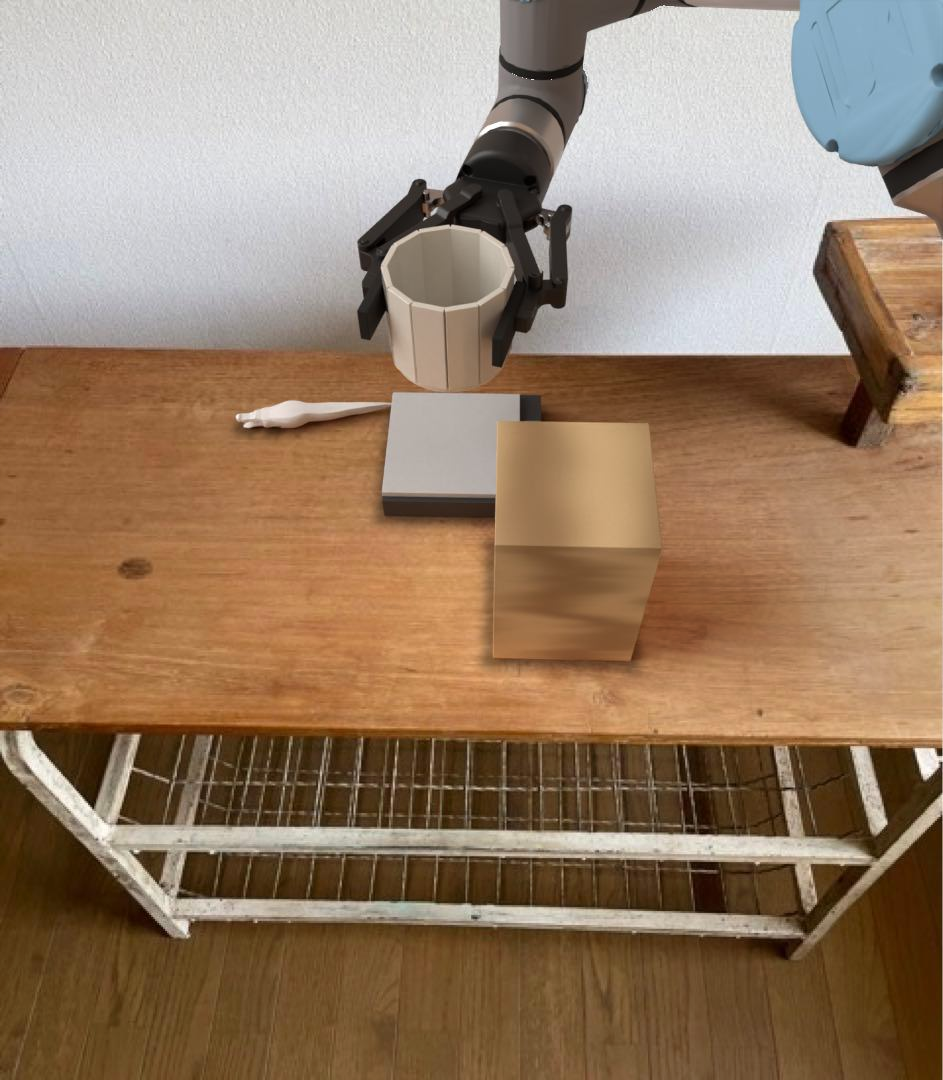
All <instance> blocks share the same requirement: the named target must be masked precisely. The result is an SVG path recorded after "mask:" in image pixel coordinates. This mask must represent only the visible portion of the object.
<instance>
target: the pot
mask: <svg viewBox="0 0 943 1080" xmlns="http://www.w3.org/2000/svg"><path fill="white" fill-rule="evenodd" d="M514 273H515V266H514V263H513V261H512V259H511V256H510V254H509V251H508V249H507V247H505V244H503V243H502V242H500V241H499V240H497V239H495V238H494V237H492V236H491V235H489V234H488V233H486V232H485V231H482V230H479V229H474V228H468V227H463V226H457V225H451V227H450V225H443V226H437V227H430V228H424V229H419V231H418V230H416V231H414V232H413V233H411V234H409V235H407V236H406V237H404V238H402V239H400V240H399V241H397V242H395V243H394V244H393V245H392V246H391V248H390V249H389V251H388V253H387V255H386V257H385V258H384V260H383V262H382V264H381V274H382V282H383V291H384V300H385V309H386V311H385V314H386V315H385V317H386V326H387V334H388V344H389V348H390V353H391V357H392V360H393V361H392V362H393V365H394V367H395V368H396V369H397V370H399V372H400V373H401V375H403V376H404V377H405V379H407V380H408V381H410V382H411V383H412V384H414V385H416V386H418V387H420V388H423V389H425V390H428V391H433V392H437V393H463V392H466V391H472V390H474V389H477V388H479V387H481V386H483V385H486V384H487V383H489V382H490V381H492V380H493V379H495V377H497V375H498V374H500V372H502V370H503V368H505V366H506V364H507V361H508V358H509V357H510V353H511V351H512V348H513V342H512V343H511V345H510V348H509V350H508V353H507V355H506V358H505V361H504V363H503V366H502V368H500V367H495V366H492V337H493V335H494V333H495V330H496V328H497V325H498V323H499V321H500V318H501V316H502V313H503V311H504V309H505V306H506V304H507V302H508V299H509V297H510V295H511V292H512V290H513V287H514V284H515V274H514Z"/></svg>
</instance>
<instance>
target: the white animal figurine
mask: <svg viewBox="0 0 943 1080" xmlns="http://www.w3.org/2000/svg"><path fill="white" fill-rule="evenodd" d="M391 405H392V402H382V401H381V402H379V401H376V402H375V401H352V402H351V401H347V402H346V401H341V402H340V401H339V402H338V401H326V402H325V401H324V402H304V401H302V400H294V399H293V400H292V399H291V400H290V399H289V400H286V401H285V400H284V401H283V402H279V403H277V404H275V405H272V406H266V407H262V408H258V409H254V410H253V411H251V412H244V413H243V412H242V413H237V414H236V415H235V420H236V421H237V422H238V423H243V429H252V428H255V427H264V428H272V427H274V428H280V429H295V428H300V427H302V426H304V425H306V424H308V423H310V422H311V423H312V422H323V421H333V420H336V419H341V418H345V417H349V416H354V415H362V414H367V413H372V412H375V411H379V410H383V409H386V408H389V407H390V408H391Z"/></svg>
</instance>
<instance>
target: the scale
mask: <svg viewBox="0 0 943 1080" xmlns="http://www.w3.org/2000/svg"><path fill="white" fill-rule="evenodd" d="M391 403H392V405H391V406H390V413H389V424H388V432H387V433H388V434H387V441H386V452H385V460H384V467H383V468H384V469H383V477H382V479H383V480H382V487H381V495H382V498H381V504H382V510H383V516H386V517H387V516H388V517H431V518H432V517H433V518H435V517H436V518H443V517H444V518H482V519H483V518H484V519H485V518H487V519H489V518H490V519H493V518H494V519H495V504H496V456H497V421H537V422H542V396H541V395H540V394H520V393H476V392H475V393H473V392H472V393H471V392H410V391H409V392H406V391H405V392H404V391H398V392H397V391H393V392H392V397H391Z"/></svg>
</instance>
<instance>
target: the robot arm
mask: <svg viewBox="0 0 943 1080" xmlns="http://www.w3.org/2000/svg"><path fill="white" fill-rule="evenodd" d="M663 5H665V6H674V7H675V8H710V9H711V8H712V9H713V8H714V9H734V10H735V9H736V10H738V9H739V10H759V11H777V12H780V11H782V12H799V14H798V19H797V20H796V21H795V23H794V25H793V27H792V28H793V29H792V36H791V48H790V66H791V68H790V69H791V78H792V79H791V80H792V85H793V89H794V95H795V101H796V103H797V107H798V109H799V113H800V114H801V117H802V119H803V121H804V124H805V125H806V127H807V129H808V131H809V132H810V134H811V135H812V137H813V138H814V140H815V141H816V142H817V143H818V144H819V145H820V147H822V148H823V149H824V150H825V151H826V152H828V153H837V154H838V158H839V159H840V160H842V161H843V162H845V163H847V164H851V165H859V166H864V167H872V168H876V167H877V170H879V174H880V176H881V179H882V181H883V182H884V185H885V188H886V190H887V193H888V195H889V197H890V200H891V202H892V204H893V206H895V207H897V208H902V209H905V210H907V211H911V212H914V213H918V214H921V215H924V216H927V217H928V218H929V219H931V220H932V221H933V222H934V223H935V225H936V228H937V230H938V232H939V235H940V237H941V240H942V241H943V0H499V33H500V35H499V37H500V38H499V39H500V45H499V50H498V54H499V55H498V73H497V75H498V76H497V77H498V78H497V79H498V80H497V95H496V96H497V97H496V99H495V100H494V102H493V105H492V107H491V109H490V111H489V113H488V115H487V117H486V119H485V121H484V122H483V124H482V126H481V128H480V130H479V132H478V133H477V135H476V137H475V139H474V141H473V144H472V145H471V147H470V149H469V151H468V153H467V154H466V156H465V159H464V160H463V162H462V164H461V166H460V168H459V170H458V173H457V176H456V178H455V180H454V181H453V182H452V183H451V184H449V185H447V186H446V187H445V188H444V189H434V188H428V184H427V183H428V182H427V180H425V179H424V178H416V179H414V180H412V182H411V185H410V186H409V189H408V192H407V194H406V195H404V197H403V198H402V199H400V201H398V202H397V203H396V204H395V205H394V206H393V207H392V208H391V209H390V210H389V211H387V212H386V213H385V214H384V215H383V216H382V217H381V218H380V219H379V220H378V221H377V222H375V224H373V225H372V226H371V227H370V228H369V229H368V230H367V231H366V232H364V233H363V235H361V236H360V237H359V238H358V239H357V241H356V242H357V243H356V245H357V250H358V258H359V265H360V266H359V267H360V269H361V270H362V271H363V272H366V273H365V275H364V277H363V278H362V280H361V288H362V296H363V297H362V298H363V299H362V301H361V303H360V305H359V306H358V308H357V310H356V315H357V320H358V321H357V322H358V329H359V336H360V340H361V339H362V340H366V341H371V340H372V338H373V336H374V334H375V332H376V331H377V329H378V326H379V324H380V323H381V321H382V319H383V318H384V315H385V314H386V309H385V300H384V291H383V282H382V274H381V264H382V262H383V260H384V258H385V257H386V255H387V253H388V251H389V249H390V248H391V246H392V245H393V244H394V243H395V242H397V241H399V240H400V239H402V238H404V237H406V236H407V235H409V234H411V233H413V232H414V231H416V230H418V231H419V229H424V228H430V227H437V226H443V225H450V227H451V225H457V226H463V227H468V228H474V229H479V230H482V231H485V232H486V233H488V234H489V235H491V236H492V237H494V238H495V239H497V240H499V241H500V242H502V243H503V244H505V247H507V249H508V251H509V254H510V256H511V259H512V261H513V263H514V266H515V273H514V278H515V281H514V287H513V290H512V292H511V295H510V297H509V299H508V302H507V304H506V306H505V309H504V311H503V313H502V316H501V318H500V321H499V323H498V325H497V328H496V330H495V333H494V335H493V337H492V366H495V367H500V368H502V366H503V363H504V361H505V358H506V355H507V353H508V350H509V348H510V345H511V343H512V344H513V340H514V339H515V336H516V332H518V333H522V334H527V333H529V332H530V331H531V329H532V327H533V325H534V321H535V320H536V317H537V314H538V312H539V309H541V308H542V307H543V306H546V305H550V307H551V308H553V309H556V310H561V309H564V308H565V307H566V305H567V304H566V303H567V296H568V286H569V285H568V284H569V269H568V246H567V245H568V244H567V242H568V239H569V238H570V236H571V229H572V228H571V227H572V216H573V207H572V206H571V205H570V204H565V203H564V204H560V205H558V207H557V208H556V210H552V209H548V208H543V202H544V200H545V198H546V196H547V193H548V190H549V189H550V185H551V183H552V180H553V178H554V176H555V174H556V171H557V169H558V167H559V165H560V162H561V159H562V157H563V154H564V151H565V149H566V147H567V145H568V143H569V140H570V137H571V136H572V134H573V131H574V129H575V126H576V124H578V122H579V119H580V116H582V114H583V112H584V110H585V109H584V108H585V104H586V98H587V94H588V91H587V89H588V90H589V81H588V82H587V76H586V74H585V71H584V70H583V63H584V61H585V52H586V45H587V39H588V38H587V37H588V33H589V32H592V31H594V30H596V29H597V30H598V29H600V28H603V27H605V26H609V25H612V24H615V23H618V22H621V21H625V20H627V19H631V18H634V17H635V16H636V17H637V16H639V15H642V14H646V13H649V12H652V11H654V10H653V9H655V8H657V7H659V6H663ZM674 7H673V8H674ZM651 10H652V11H651ZM512 73H513V74H512ZM514 74H515V75H514ZM516 75H517V76H516ZM522 77H523V78H522ZM526 78H527V79H526ZM531 79H534V80H531ZM551 79H552V80H551ZM435 209H436V211H435V213H433V214H432V212H433V211H434V210H435ZM539 226H541V227H542V229H543V230H542V233H543V234H544V235H545V238H546V240H547V241H548V242H549V244H548V270H549V278H548V279H544V270H541V271H540V268H539V266H538V263H537V260H536V257H535V256H534V253H533V250H532V248H531V244H530V243H529V240H528V237H527V235H526V233H528V232H531V231H533V230H534V229H536V228H537V227H539Z"/></svg>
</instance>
